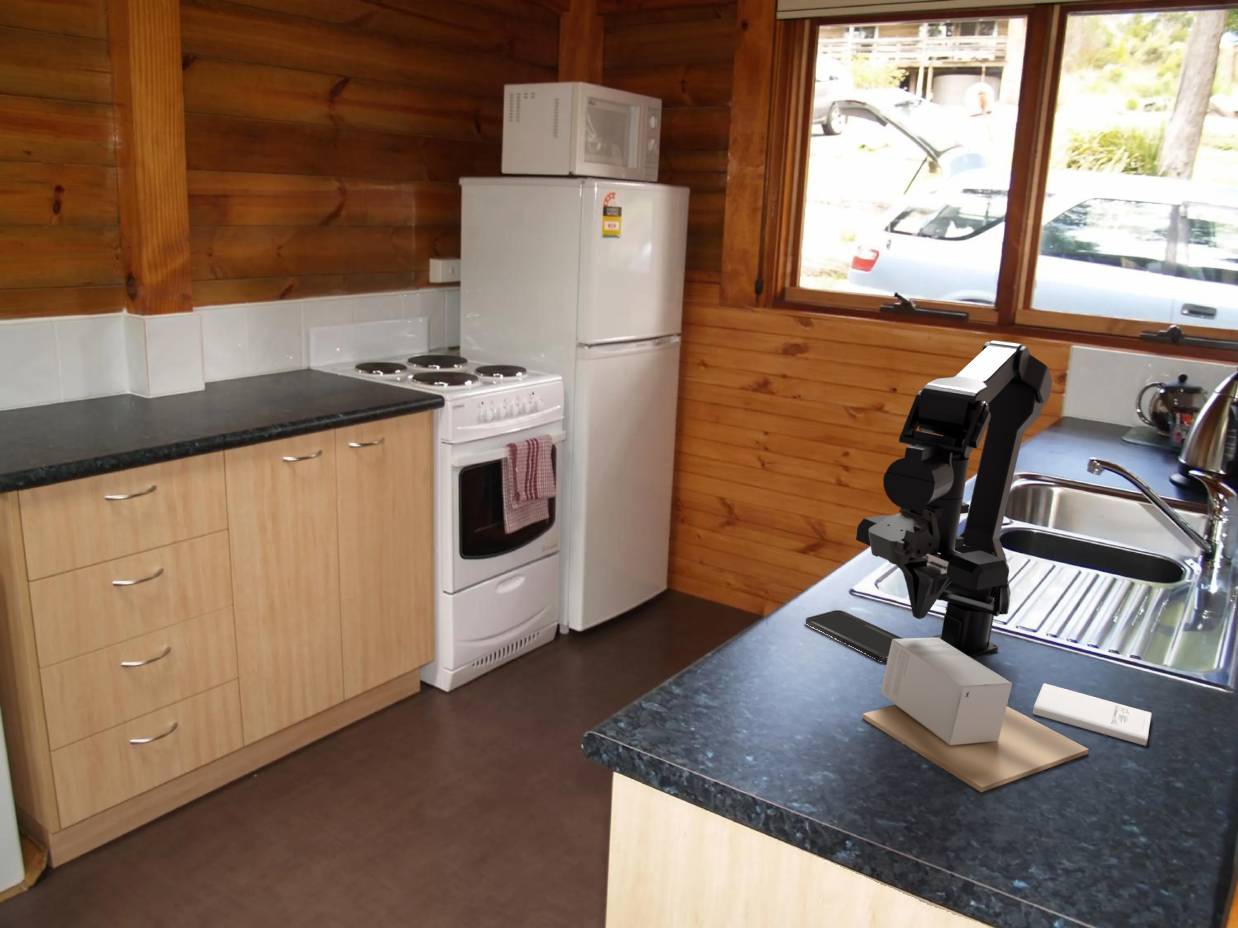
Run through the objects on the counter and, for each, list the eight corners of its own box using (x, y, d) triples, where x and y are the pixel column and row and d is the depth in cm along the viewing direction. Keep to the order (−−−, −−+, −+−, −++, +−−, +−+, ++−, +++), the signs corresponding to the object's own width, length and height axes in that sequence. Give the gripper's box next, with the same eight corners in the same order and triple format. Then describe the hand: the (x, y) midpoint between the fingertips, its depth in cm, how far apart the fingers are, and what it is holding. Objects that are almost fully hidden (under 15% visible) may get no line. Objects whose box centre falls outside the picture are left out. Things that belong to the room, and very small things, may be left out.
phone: (885, 659, 134) (802, 618, 145) (884, 667, 134) (801, 625, 145) (923, 647, 138) (839, 608, 150) (922, 654, 138) (839, 615, 150)
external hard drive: (1041, 693, 130) (1149, 722, 124) (1031, 718, 123) (1145, 750, 117) (1044, 681, 130) (1152, 710, 124) (1033, 705, 123) (1148, 737, 117)
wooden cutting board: (966, 689, 128) (967, 684, 128) (1087, 753, 114) (1088, 749, 114) (862, 718, 119) (863, 713, 118) (981, 792, 105) (982, 786, 105)
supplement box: (878, 694, 123) (947, 746, 111) (891, 636, 121) (963, 684, 110) (926, 692, 125) (999, 743, 114) (940, 636, 124) (1015, 682, 113)
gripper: (830, 477, 122) (815, 599, 126) (953, 523, 106) (931, 660, 110) (896, 470, 127) (880, 587, 131) (1022, 513, 112) (999, 643, 116)
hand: (918, 617), depth 122 cm, fingers closed
